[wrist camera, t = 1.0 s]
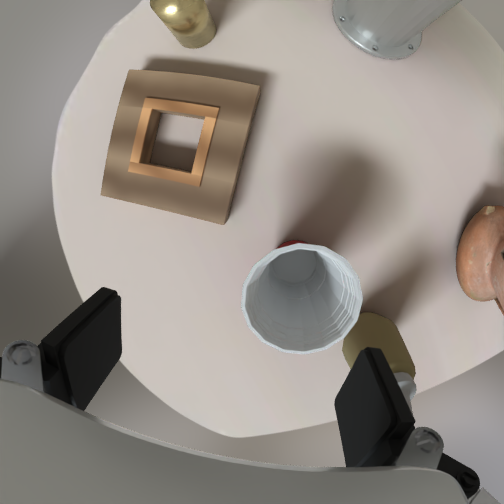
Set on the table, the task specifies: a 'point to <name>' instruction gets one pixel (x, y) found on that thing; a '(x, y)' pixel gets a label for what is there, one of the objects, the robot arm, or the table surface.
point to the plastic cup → (301, 298)
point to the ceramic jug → (483, 256)
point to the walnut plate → (208, 151)
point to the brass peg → (186, 21)
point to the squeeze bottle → (382, 348)
